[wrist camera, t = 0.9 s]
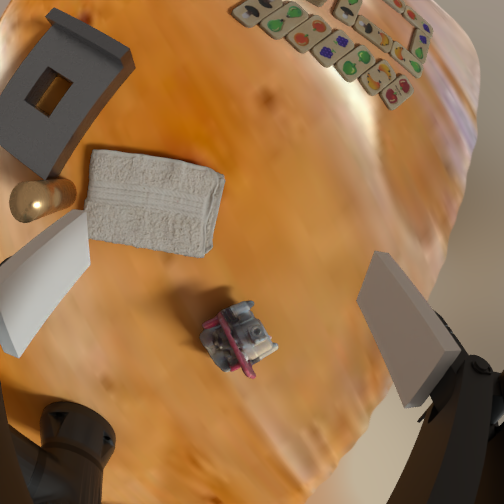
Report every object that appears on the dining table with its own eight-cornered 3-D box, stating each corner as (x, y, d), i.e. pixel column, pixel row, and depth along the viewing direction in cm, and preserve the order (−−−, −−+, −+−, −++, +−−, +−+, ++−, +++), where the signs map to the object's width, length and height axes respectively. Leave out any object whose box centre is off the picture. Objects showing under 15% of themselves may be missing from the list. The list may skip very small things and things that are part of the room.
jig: (56, 179, 33) (35, 181, 27) (-6, 131, 29) (-31, 127, 22) (135, 68, 32) (129, 48, 26) (67, 28, 28) (53, 7, 21)
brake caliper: (172, 330, 40) (233, 343, 32) (220, 285, 47) (283, 284, 39) (210, 385, 44) (271, 404, 36) (250, 339, 51) (310, 346, 43)
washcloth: (209, 255, 42) (212, 261, 39) (82, 237, 37) (75, 241, 34) (225, 169, 40) (230, 169, 37) (95, 148, 34) (89, 146, 32)
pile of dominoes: (222, 19, 34) (229, 0, 28) (286, -67, 30) (297, -83, 25) (405, 127, 45) (426, 125, 40) (430, 29, 41) (448, 22, 36)
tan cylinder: (67, 214, 35) (30, 230, 24) (46, 198, 34) (3, 209, 22) (81, 188, 35) (47, 195, 23) (60, 173, 33) (20, 174, 22)
